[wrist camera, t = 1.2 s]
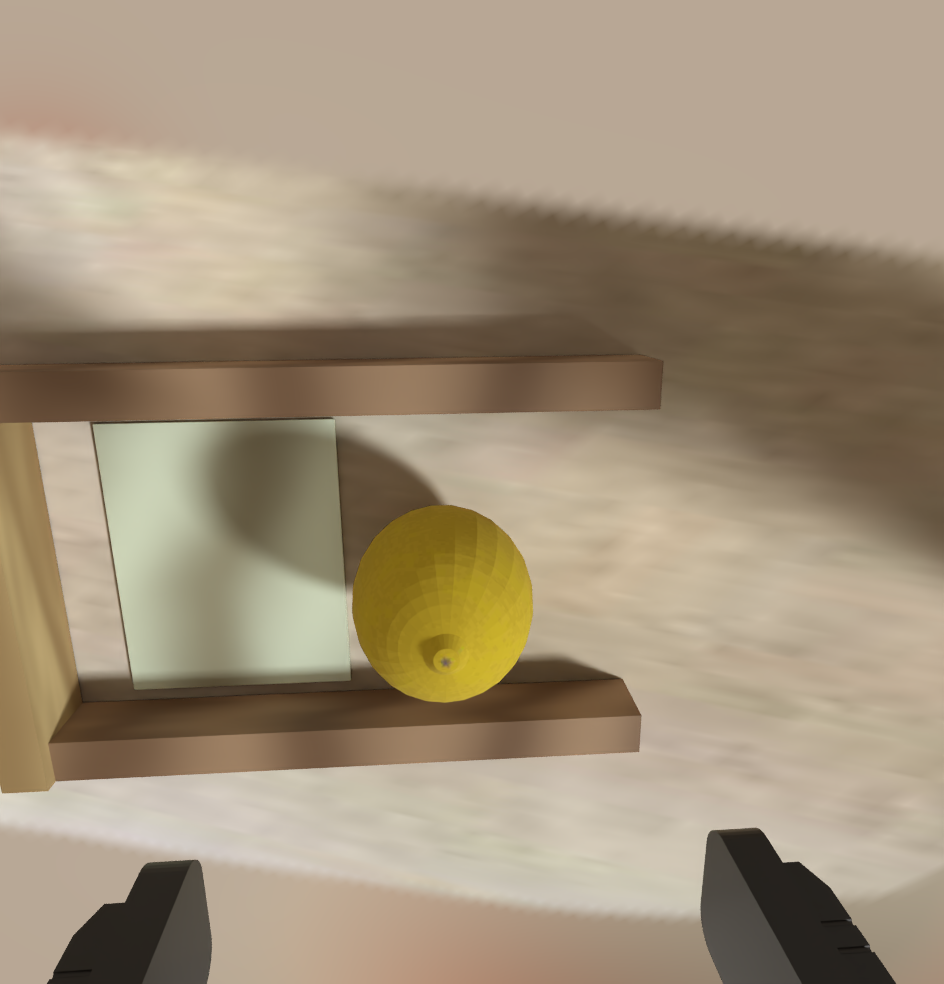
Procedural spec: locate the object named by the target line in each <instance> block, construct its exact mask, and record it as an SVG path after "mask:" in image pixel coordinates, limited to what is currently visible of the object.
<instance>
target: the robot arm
mask: <svg viewBox="0 0 944 984" xmlns="http://www.w3.org/2000/svg"><path fill="white" fill-rule="evenodd" d="M701 921H702V927H703V932H704V936H705V940H706V944H707V947H708V950H709V952H710V955H711V957H712V959H713V962H714V964H715V966H716V969H717V970H718V973H719V975H720V978H721V980H722V982H723V984H896V983H895V981H894V980H893V979H892V977H891V976H890V974H889V973H888V971H887V970H886V968H885V967H884V965H883V964H882V962H881V961H880V960H879V958H878V957H877V955H876V954H875V952H871V950H870V945H869V944H868V942H867V941H866V939H865V938H864V936H863V935H862V933H861V932H860V931H859V929H858V928H857V926H856V925H855V926H854V925H853V924H852V919H851V917H850V916H849V915H848V913H847V912H846V910H845V909H844V907H843V906H842V904H841V903H840V901H839V900H838V899H837V897H836V896H835V894H834V893H833V891H832V890H831V888H830V887H829V886H827V885H826V884H825V883H824V882H823V881H821V880H820V879H819V878H818V877H817V876H815V875H814V874H813V873H812V872H811V871H809V870H808V869H807V868H806V867H805V866H803V865H802V864H801V863H800V862H787V863H783V862H782V861H781V859H780V858H779V856H778V854H777V853H776V851H775V850H774V848H773V847H772V845H771V843H770V842H769V840H768V839H767V837H766V836H765V834H764V833H763V832H762V831H761V830H760V829H758V828H745V829H728V830H713V831H710V833H709V834H708V838H707V844H706V855H705V865H704V875H703V886H702V896H701ZM211 940H212V938H211V930H210V923H209V916H208V909H207V902H206V895H205V887H204V880H203V873H202V867H201V864H200V862H199V861H198V860H185V861H168V862H153V863H147V864H146V865H145V866H144V867H143V868H142V869H141V871H140V873H139V875H138V877H137V879H136V881H135V883H134V885H133V887H132V889H131V891H130V893H129V895H128V897H127V900H126V902H125V903H113V904H104V905H103V906H102V907H101V908H100V909H99V910H98V911H97V912H96V913H95V914H94V915H93V916H92V917H91V918H90V919H89V920H88V921H87V922H86V923H85V924H84V925H83V927H81V928H80V929H79V930H78V931H77V932H76V934H74V935H73V937H72V939H71V941H70V942H69V944H68V946H67V948H66V950H65V952H64V954H63V955H62V957H61V959H60V961H59V963H58V965H57V966H56V969H55V970H54V972H53V973H54V975H53V978H52V979H50V980H49V981H48V983H47V984H207V980H208V976H209V969H210V963H211V952H212V941H211Z"/></svg>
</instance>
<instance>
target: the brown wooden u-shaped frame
mask: <svg viewBox="0 0 944 984" xmlns="http://www.w3.org/2000/svg"><path fill="white" fill-rule="evenodd" d="M662 374H663V361H661V360H658V359H654V358H651V357H647V356H643V355H640V354H639V355H577V356H516V357H455V358H393V359H332V360H270V361H209V362H147V363H86V364H24V365H0V786H1V790H2V793H19V792H39V791H49V789H50V788H51V787H52V785H53V784H54V783H55V781H70V780H90V779H110V778H130V777H150V776H169V775H189V774H209V773H229V772H249V771H269V770H289V769H308V768H328V767H348V766H368V765H388V764H408V763H427V762H447V761H467V760H487V759H507V758H527V757H547V756H566V755H586V754H606V753H626V752H639V745H640V729H641V714H640V712H639V710H638V708H637V706H636V704H635V702H634V700H633V698H632V697H631V695H630V693H629V691H628V689H627V687H626V685H625V683H624V681H623V679H609V680H586V681H564V682H541V683H518V684H496V685H494V686H492V687H491V688H489V689H488V690H486V691H485V692H483V693H481V694H478V695H476V696H473V697H470V698H468V699H465V700H460V701H453V702H446V703H444V702H431V701H424V700H421V699H418V698H415V697H412V696H409V695H406V694H404V693H403V692H401V691H399V690H398V689H382V690H359V691H337V692H314V693H291V694H269V695H246V696H223V697H201V698H178V699H155V700H133V701H110V702H87V703H82V697H81V692H80V686H79V681H78V675H77V670H76V664H75V659H74V653H73V648H72V642H71V637H70V631H69V626H68V620H67V615H66V609H65V604H64V598H63V593H62V587H61V582H60V576H59V571H58V565H57V560H56V554H55V549H54V543H53V537H52V532H51V526H50V521H49V515H48V510H47V504H46V499H45V493H44V488H43V482H42V477H41V471H40V466H39V460H38V455H37V449H36V444H35V438H34V433H33V427H32V422H77V421H124V420H172V419H219V418H267V417H315V416H362V415H410V414H457V413H505V412H553V411H600V410H648V409H660V406H661V390H662ZM93 431H94V437H95V443H96V450H97V456H98V462H99V469H100V475H101V481H102V488H103V494H104V500H105V507H106V513H107V519H108V526H109V532H110V538H111V545H112V551H113V557H114V564H115V570H116V576H117V583H118V589H119V596H120V602H121V608H122V615H123V621H124V627H125V634H126V640H127V646H128V653H129V659H130V665H131V672H132V678H133V684H134V690H144V689H167V688H190V687H214V686H237V685H260V684H283V683H306V682H329V681H351V668H350V652H349V637H348V621H347V605H346V590H345V574H344V558H343V543H342V527H341V511H340V496H339V480H338V464H337V449H336V433H335V419H300V420H253V421H206V422H158V423H111V424H93Z"/></svg>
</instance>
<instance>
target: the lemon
mask: <svg viewBox="0 0 944 984" xmlns="http://www.w3.org/2000/svg"><path fill="white" fill-rule="evenodd" d="M352 613H353V619H354V624H355V628H356V632H357V636H358V640H359V643H360V646H361V647H362V649H363V651H364V653H365V655H366V656H367V658H368V660H369V662H370V663H371V665H372V667H373V668H374V669H375V670H376V671H377V672H378V673H379V674H380V675H381V676H382V677H383V678H384V679H385V680H386V681H387V682H388V683H389V684H390V685H391V686H393V687H394V688H396V689H398V690H399V691H401V692H403V693H404V694H406V695H409V696H412V697H415V698H418V699H421V700H424V701H431V702H444V703H446V702H453V701H460V700H465V699H468V698H470V697H473V696H476V695H478V694H481V693H483V692H485V691H486V690H488V689H489V688H491V687H492V686H494V685H495V684H497V683H498V682H500V681H501V680H502V678H503V677H504V676H505V675H506V674H507V673H508V672H509V671H510V670H511V669H512V668H513V666H514V665H515V663H516V662H517V660H518V658H519V656H520V654H521V652H522V651H523V649H524V647H525V644H526V642H527V638H528V634H529V629H530V625H531V621H532V615H533V602H532V584H531V580H530V577H529V574H528V571H527V567H526V564H525V561H524V559H523V556H522V555H521V553H520V552H519V550H518V549H517V547H516V546H515V544H514V543H513V541H512V540H511V538H510V537H509V536H508V535H507V534H506V533H505V532H504V531H503V530H502V529H501V528H500V527H498V526H497V525H496V524H495V523H494V522H493V521H492V520H490V519H488V518H486V517H484V516H483V515H481V514H479V513H477V512H475V511H473V510H470V509H465V508H461V507H457V506H453V505H433V506H427V507H424V508H420V509H416V510H412V511H410V512H408V513H406V514H404V515H402V516H400V517H399V518H397V519H395V520H393V521H392V522H391V523H389V524H388V525H387V526H386V527H385V528H384V529H383V530H382V531H381V532H380V533H379V534H378V535H377V536H376V537H375V538H374V539H373V541H372V542H371V544H370V546H369V547H368V549H367V550H366V552H365V553H364V555H363V557H362V558H361V561H360V564H359V567H358V571H357V574H356V577H355V580H354V583H353V603H352Z"/></svg>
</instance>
